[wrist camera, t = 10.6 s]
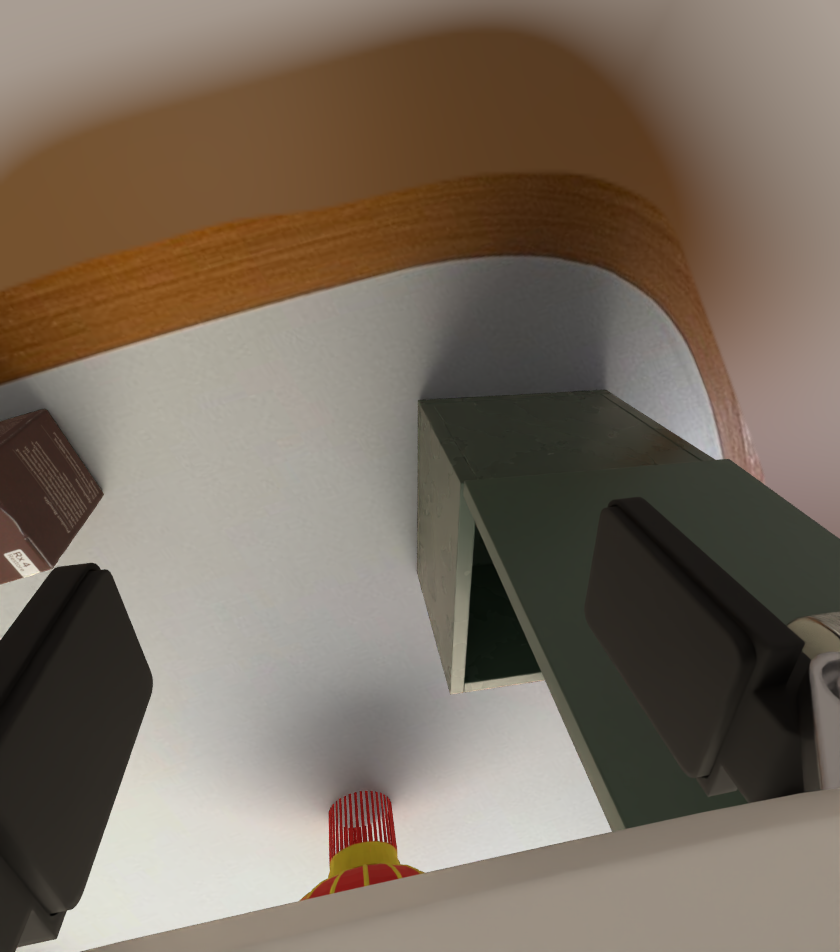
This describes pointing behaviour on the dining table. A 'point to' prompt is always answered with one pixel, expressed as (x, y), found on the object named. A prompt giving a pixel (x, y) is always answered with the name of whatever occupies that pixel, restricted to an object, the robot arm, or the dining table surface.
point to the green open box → (496, 456)
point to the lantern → (361, 851)
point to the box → (39, 495)
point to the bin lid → (565, 587)
